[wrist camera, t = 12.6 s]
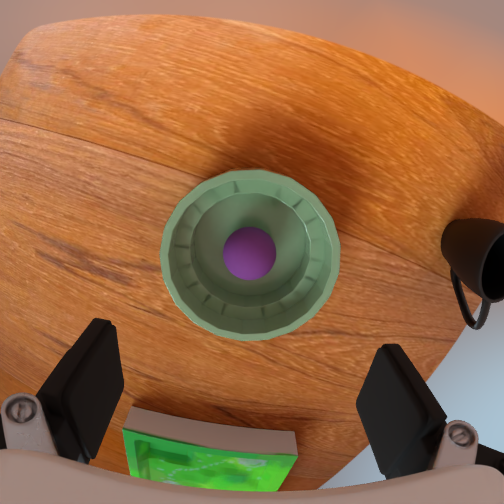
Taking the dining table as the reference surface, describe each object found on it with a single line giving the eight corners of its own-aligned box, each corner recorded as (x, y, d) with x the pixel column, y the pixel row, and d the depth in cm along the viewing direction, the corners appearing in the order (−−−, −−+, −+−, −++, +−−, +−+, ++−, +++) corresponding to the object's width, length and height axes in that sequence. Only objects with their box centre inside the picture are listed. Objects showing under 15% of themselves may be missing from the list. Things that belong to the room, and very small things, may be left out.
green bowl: (146, 233, 31) (126, 250, 26) (262, 135, 28) (265, 130, 23) (239, 334, 35) (238, 366, 29) (351, 254, 32) (370, 274, 27)
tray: (260, 496, 49) (260, 515, 44) (140, 478, 47) (135, 496, 42) (294, 431, 41) (298, 455, 36) (131, 405, 39) (122, 429, 34)
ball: (214, 241, 31) (208, 258, 26) (253, 211, 30) (254, 222, 26) (245, 277, 32) (245, 299, 28) (284, 249, 32) (290, 266, 27)
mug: (415, 296, 34) (455, 335, 25) (440, 202, 31) (492, 220, 22) (459, 299, 35) (499, 334, 26) (484, 215, 31) (533, 234, 22)
